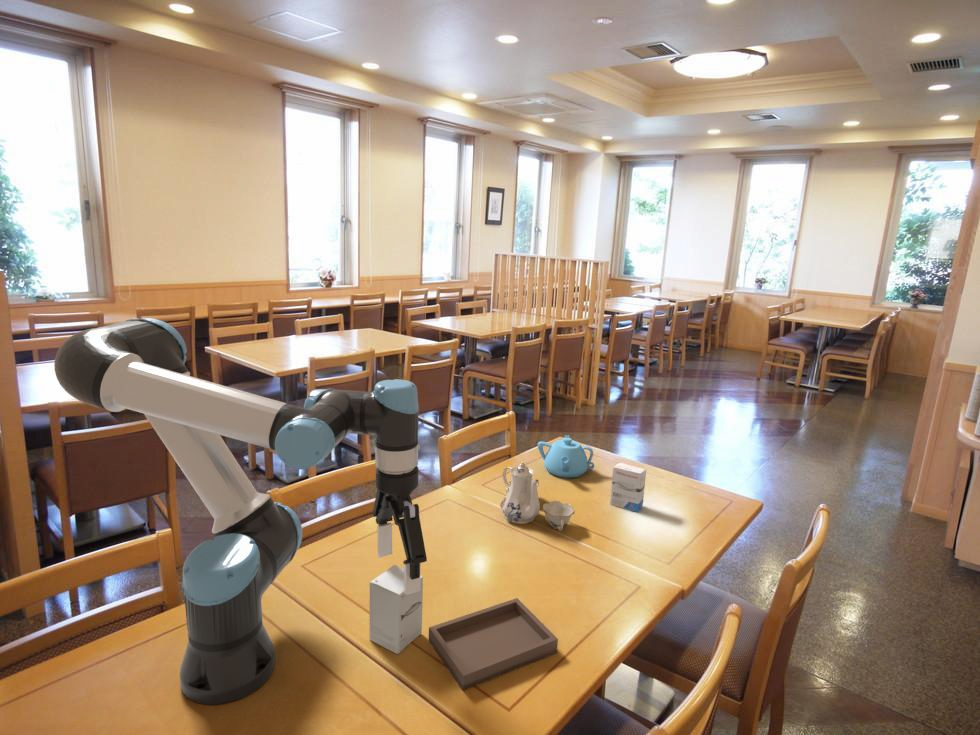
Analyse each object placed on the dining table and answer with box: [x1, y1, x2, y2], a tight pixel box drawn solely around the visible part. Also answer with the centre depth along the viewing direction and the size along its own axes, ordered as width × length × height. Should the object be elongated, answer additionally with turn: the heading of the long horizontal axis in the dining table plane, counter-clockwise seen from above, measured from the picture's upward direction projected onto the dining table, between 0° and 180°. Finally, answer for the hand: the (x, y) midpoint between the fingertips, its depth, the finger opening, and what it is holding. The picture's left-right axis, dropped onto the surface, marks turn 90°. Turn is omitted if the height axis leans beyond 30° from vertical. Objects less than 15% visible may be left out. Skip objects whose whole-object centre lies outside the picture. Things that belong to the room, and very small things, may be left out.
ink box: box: [609, 462, 647, 513], centre depth 170 cm, size 8×5×12 cm, turn 58°
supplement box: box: [368, 564, 424, 655], centre depth 112 cm, size 7×7×13 cm
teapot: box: [537, 435, 595, 479], centre depth 193 cm, size 15×17×11 cm
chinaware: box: [499, 461, 575, 531], centre depth 162 cm, size 28×17×17 cm, turn 34°
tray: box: [428, 597, 559, 691], centre depth 111 cm, size 20×14×3 cm
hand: (398, 572), depth 110 cm, fingers open, 13 cm apart
